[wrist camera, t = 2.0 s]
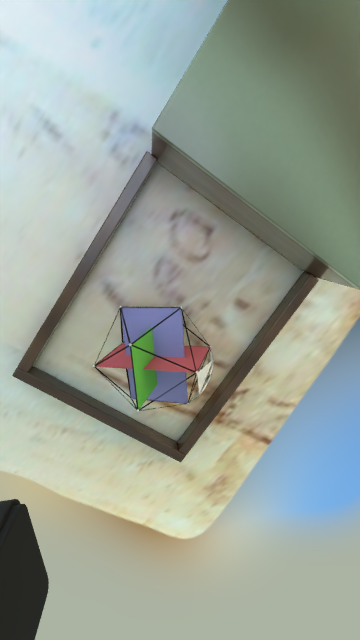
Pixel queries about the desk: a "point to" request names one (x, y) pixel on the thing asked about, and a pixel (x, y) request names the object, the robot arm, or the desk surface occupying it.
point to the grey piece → (252, 168)
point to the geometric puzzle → (157, 356)
